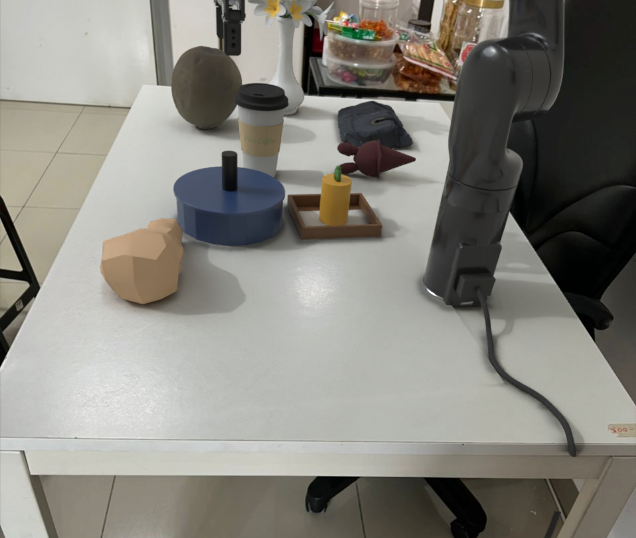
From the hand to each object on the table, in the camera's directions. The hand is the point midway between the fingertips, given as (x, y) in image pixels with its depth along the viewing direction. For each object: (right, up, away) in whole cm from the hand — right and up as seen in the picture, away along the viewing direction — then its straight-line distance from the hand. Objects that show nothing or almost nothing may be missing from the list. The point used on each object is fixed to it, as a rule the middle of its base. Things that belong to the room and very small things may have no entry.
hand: (228, 46), depth 87 cm
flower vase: (+5, +19, +61) cm, 64 cm away
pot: (-2, -19, +17) cm, 26 cm away
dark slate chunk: (+24, +12, +56) cm, 62 cm away
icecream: (+23, -5, +37) cm, 44 cm away
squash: (-12, -31, +4) cm, 33 cm away
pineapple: (+15, -18, +20) cm, 31 cm away
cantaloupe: (-11, +10, +50) cm, 52 cm away
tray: (+15, -18, +20) cm, 31 cm away
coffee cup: (+1, -6, +33) cm, 33 cm away
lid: (-2, -15, +14) cm, 21 cm away
